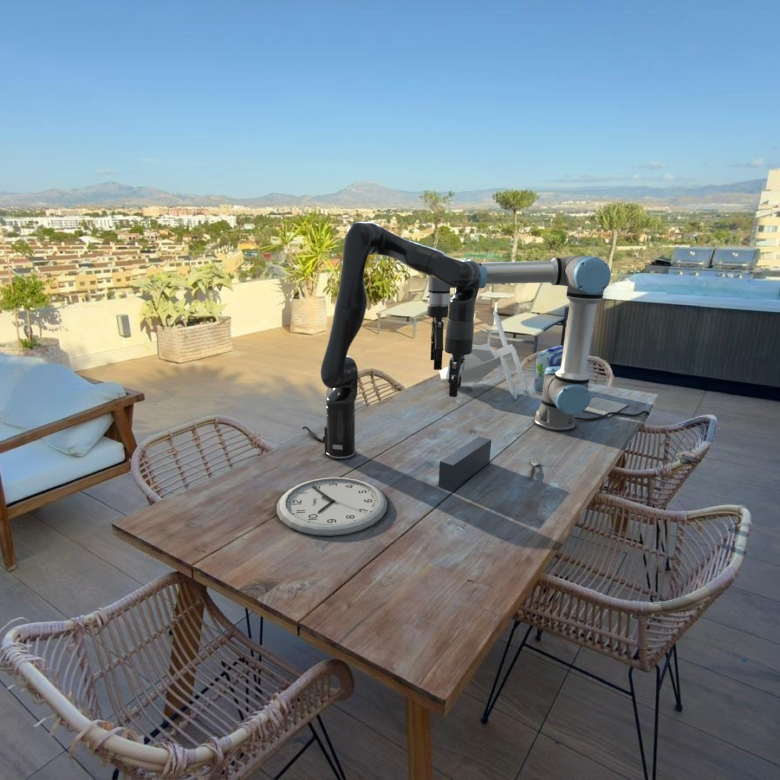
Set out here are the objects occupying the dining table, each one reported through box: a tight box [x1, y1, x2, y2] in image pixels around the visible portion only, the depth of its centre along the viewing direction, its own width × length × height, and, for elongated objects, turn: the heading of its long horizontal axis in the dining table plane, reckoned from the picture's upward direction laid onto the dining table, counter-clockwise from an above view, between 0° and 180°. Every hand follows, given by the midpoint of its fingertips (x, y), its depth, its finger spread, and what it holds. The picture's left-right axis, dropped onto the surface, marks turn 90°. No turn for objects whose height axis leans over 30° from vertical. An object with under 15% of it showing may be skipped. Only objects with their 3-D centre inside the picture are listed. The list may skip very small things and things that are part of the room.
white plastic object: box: [438, 310, 531, 400], centre depth 245 cm, size 37×45×31 cm
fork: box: [530, 454, 541, 480], centre depth 166 cm, size 3×16×2 cm, turn 160°
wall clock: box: [276, 476, 388, 537], centre depth 142 cm, size 30×2×30 cm
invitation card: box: [583, 396, 629, 418], centre depth 226 cm, size 21×1×15 cm
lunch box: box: [533, 345, 564, 393], centre depth 245 cm, size 26×11×21 cm, turn 135°
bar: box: [438, 436, 492, 491], centre depth 161 cm, size 24×4×8 cm, turn 143°
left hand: (454, 391), depth 148 cm, fingers open, 8 cm apart
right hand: (435, 364), depth 187 cm, fingers open, 13 cm apart
